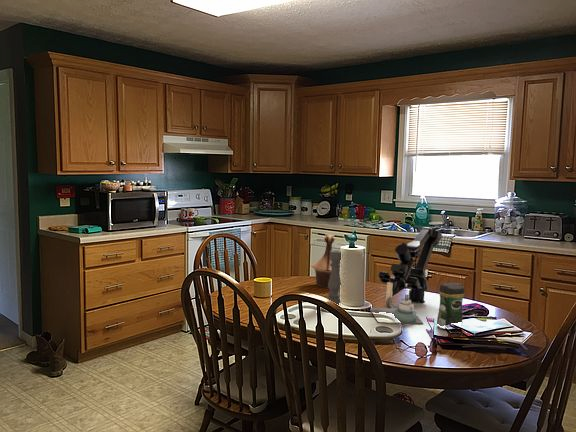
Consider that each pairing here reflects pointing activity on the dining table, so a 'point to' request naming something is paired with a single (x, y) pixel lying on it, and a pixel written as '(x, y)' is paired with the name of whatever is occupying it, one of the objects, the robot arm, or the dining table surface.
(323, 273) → the brown tall piece
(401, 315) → the teal round piece
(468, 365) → the dining table surface
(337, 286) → the candle holder
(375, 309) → the mat
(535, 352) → the dining table surface
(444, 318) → the coffee jar
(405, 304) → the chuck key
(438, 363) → the dining table surface
